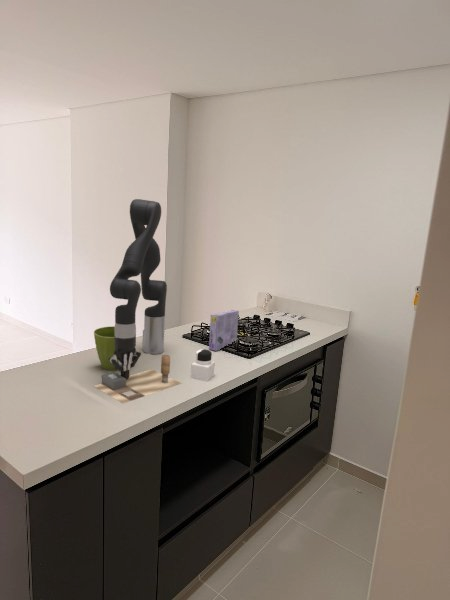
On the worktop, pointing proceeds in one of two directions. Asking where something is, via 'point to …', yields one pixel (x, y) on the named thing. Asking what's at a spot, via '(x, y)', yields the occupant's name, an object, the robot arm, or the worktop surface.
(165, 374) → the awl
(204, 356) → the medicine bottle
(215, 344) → the cake pan box
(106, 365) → the flower pot
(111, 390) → the subfloor panel
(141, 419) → the worktop surface
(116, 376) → the block
